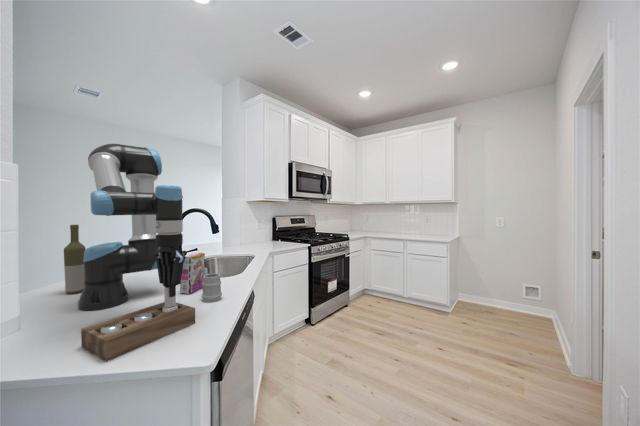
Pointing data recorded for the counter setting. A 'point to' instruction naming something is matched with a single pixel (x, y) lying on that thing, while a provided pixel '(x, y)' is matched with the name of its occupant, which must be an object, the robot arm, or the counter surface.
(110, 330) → the knob
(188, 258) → the candy bar box
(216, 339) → the counter surface
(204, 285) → the mug
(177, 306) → the knob
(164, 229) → the robot arm
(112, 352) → the wooden candle holder
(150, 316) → the knob
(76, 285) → the bottle
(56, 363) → the counter surface
